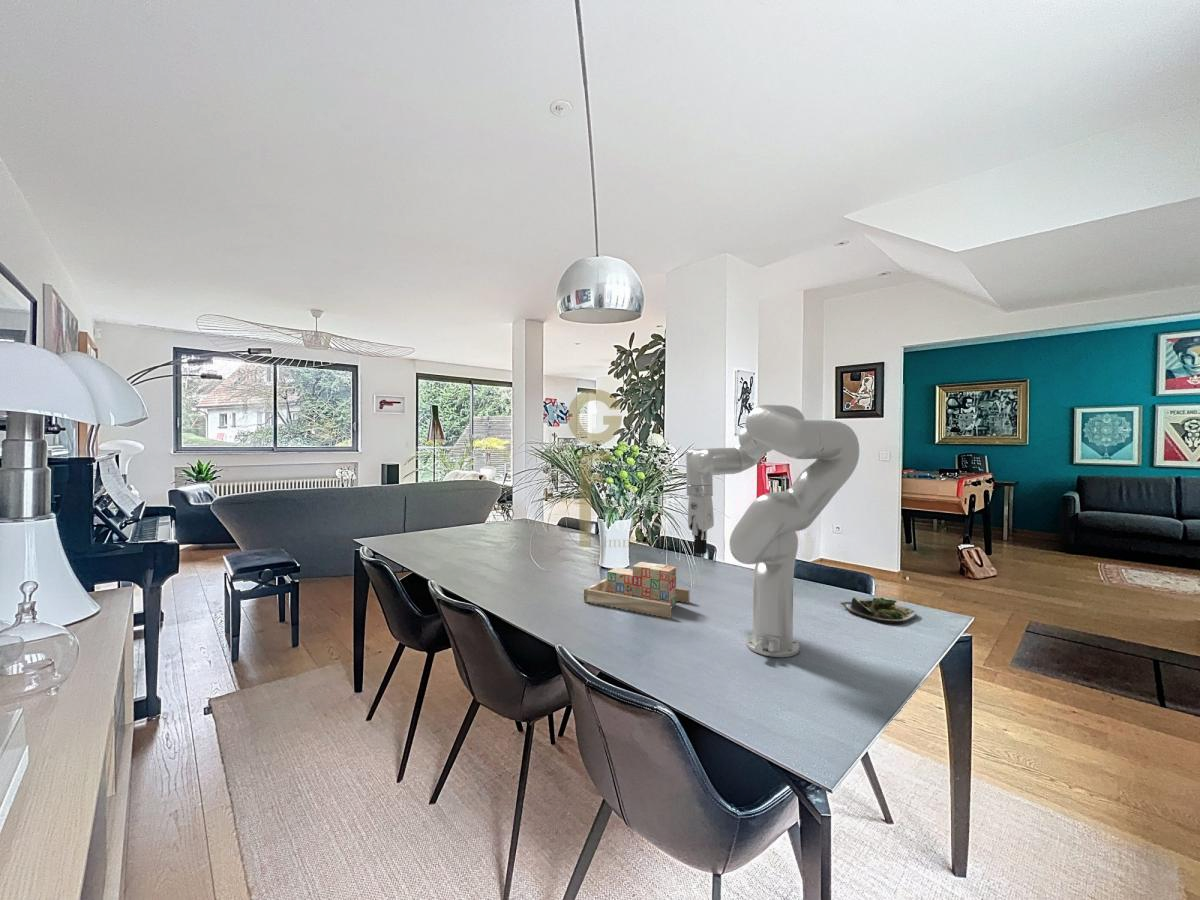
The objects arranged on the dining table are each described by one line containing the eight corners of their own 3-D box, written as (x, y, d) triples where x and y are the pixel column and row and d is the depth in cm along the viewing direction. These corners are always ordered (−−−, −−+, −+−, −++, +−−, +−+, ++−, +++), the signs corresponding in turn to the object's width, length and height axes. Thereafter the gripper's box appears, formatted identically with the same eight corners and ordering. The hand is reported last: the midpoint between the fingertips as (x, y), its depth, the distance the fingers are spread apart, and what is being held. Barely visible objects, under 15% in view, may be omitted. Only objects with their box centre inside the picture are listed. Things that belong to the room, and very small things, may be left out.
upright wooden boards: (669, 618, 149) (669, 604, 149) (583, 602, 164) (583, 589, 164) (689, 602, 163) (689, 589, 163) (609, 588, 178) (609, 576, 178)
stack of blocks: (606, 600, 166) (606, 562, 166) (616, 594, 172) (616, 557, 171) (668, 611, 155) (668, 570, 155) (676, 605, 161) (676, 566, 160)
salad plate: (869, 599, 166) (869, 584, 166) (928, 615, 152) (929, 600, 151) (833, 610, 156) (834, 595, 156) (894, 629, 141) (894, 613, 141)
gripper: (703, 493, 143) (704, 559, 144) (719, 489, 156) (720, 549, 157) (678, 492, 147) (679, 556, 147) (696, 488, 160) (696, 547, 160)
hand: (700, 552), depth 152 cm, fingers closed
